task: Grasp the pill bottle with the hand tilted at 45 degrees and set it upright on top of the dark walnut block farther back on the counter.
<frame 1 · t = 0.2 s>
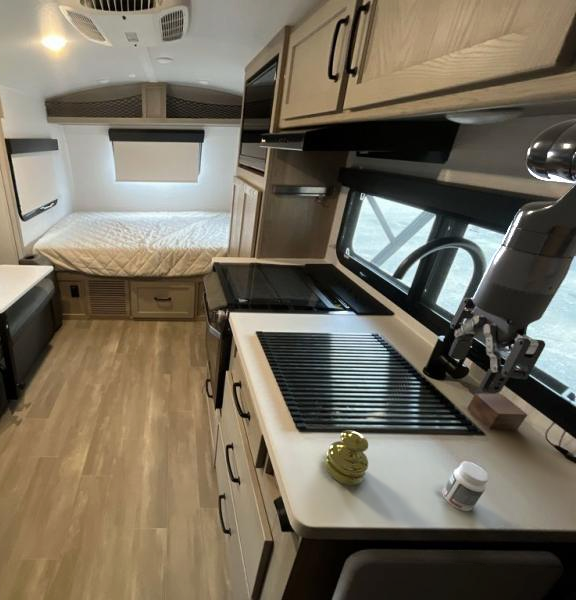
hand: (470, 373, 53), 29 cm above the worktop, tool pointing down, fingers open, 8 cm apart
pill bottle: (456, 500, 65), on the worktop
gold metal rounded figure: (342, 470, 70), on the worktop
walnut block: (491, 418, 85), on the worktop
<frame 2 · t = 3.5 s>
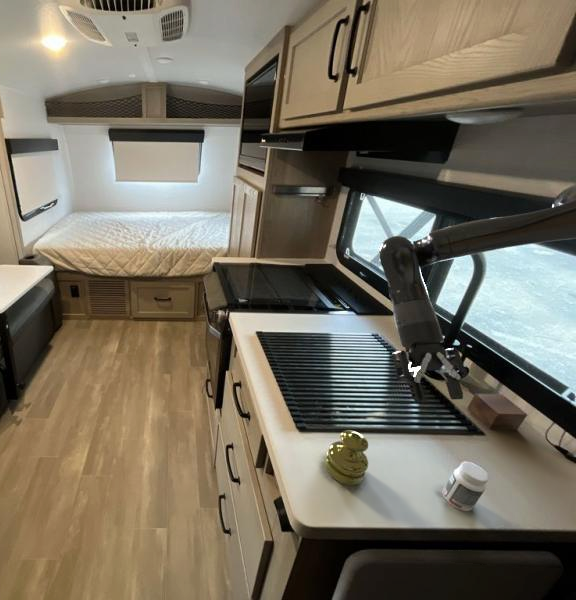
hand: (439, 400, 68), 15 cm above the worktop, tool tilted 45°, fingers open, 8 cm apart
nothing on the worktop moved.
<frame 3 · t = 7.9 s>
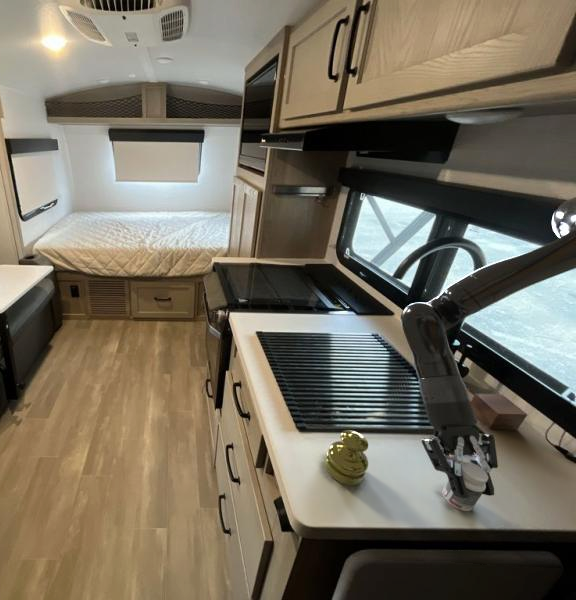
hand: (474, 495, 61), 4 cm above the worktop, tool tilted 45°, fingers closed on pill bottle, 4 cm apart
pill bottle: (456, 500, 65), on the worktop, touching gripper
everything else where it was.
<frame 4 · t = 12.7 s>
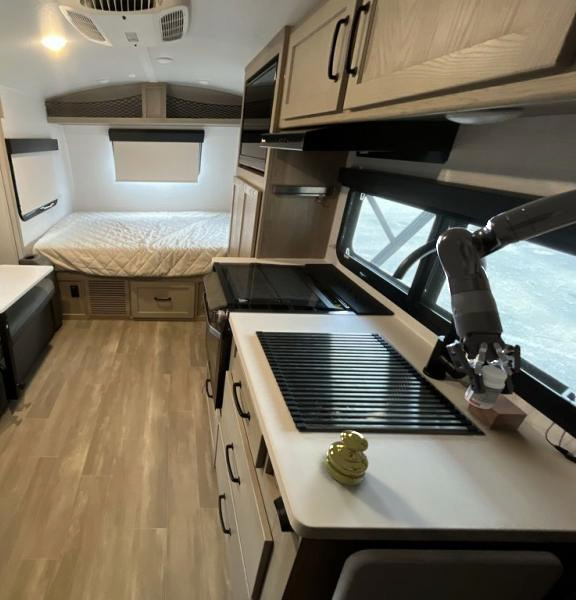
hand: (493, 393, 69), 16 cm above the worktop, tool tilted 45°, fingers closed on pill bottle, 4 cm apart
pill bottle: (477, 402, 72), point 12 cm above the worktop, touching gripper
everything else where it was.
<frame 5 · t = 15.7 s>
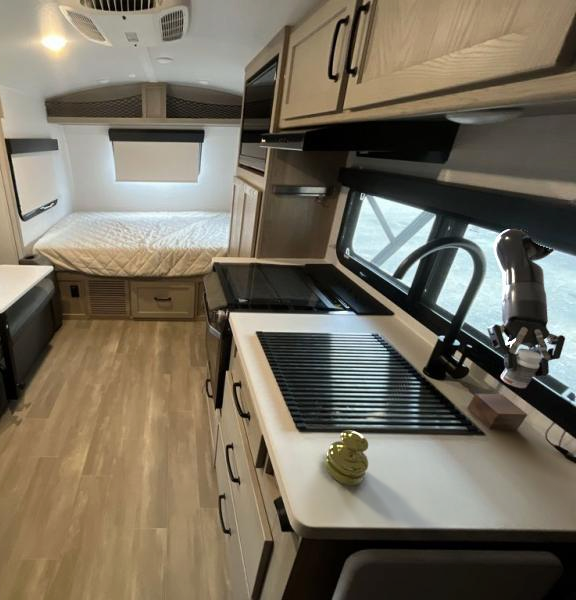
hand: (526, 373, 76), 16 cm above the worktop, tool tilted 45°, fingers closed on pill bottle, 4 cm apart
pill bottle: (512, 382, 80), point 11 cm above the worktop, touching gripper
everything else where it was.
when the fingers open (9 cm above the worktop, at t = 18.0 s): pill bottle stays where it is, resting on walnut block.
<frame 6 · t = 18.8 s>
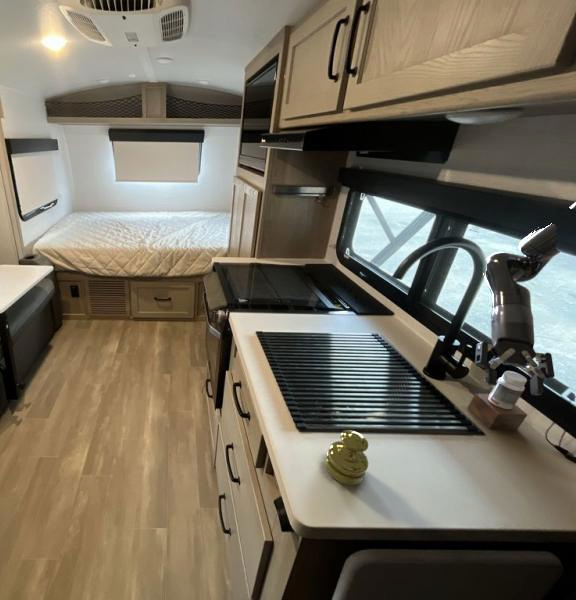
hand: (513, 390, 79), 10 cm above the worktop, tool tilted 45°, fingers open, 8 cm apart
pill bottle: (499, 403, 83), point 5 cm above the worktop, touching walnut block
everything else where it was.
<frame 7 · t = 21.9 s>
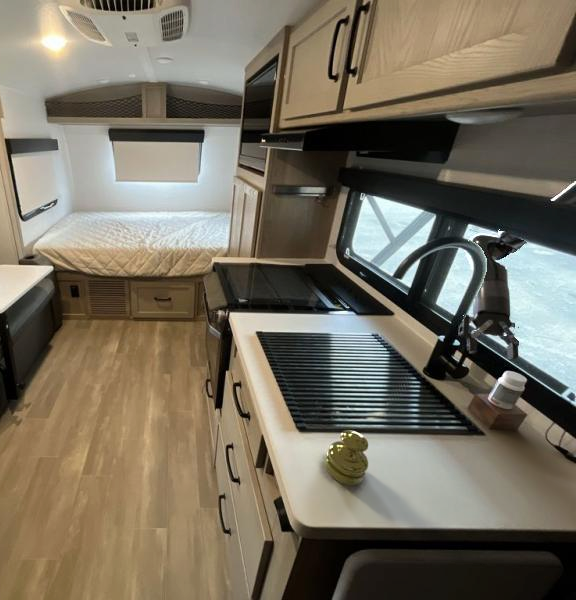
hand: (492, 356, 89), 12 cm above the worktop, tool tilted 45°, fingers open, 8 cm apart
nothing on the worktop moved.
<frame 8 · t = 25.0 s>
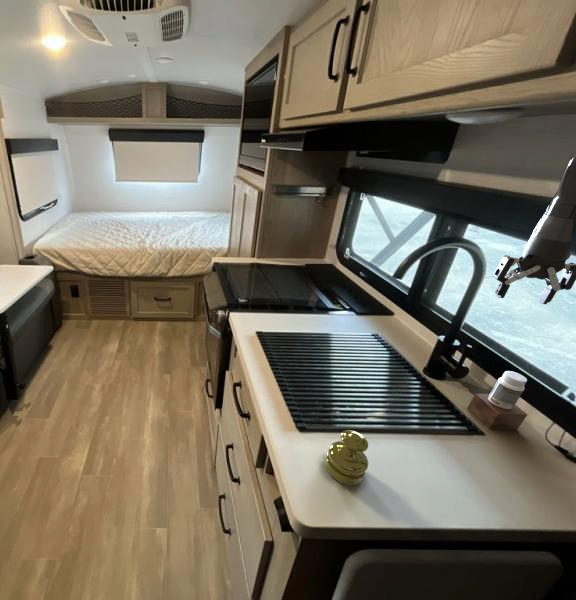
hand: (520, 299, 83), 28 cm above the worktop, tool pointing down, fingers open, 8 cm apart
nothing on the worktop moved.
at the end: pill bottle 0.2 cm off-centre on the walnut block, point 4.8 cm above the walnut block's base; pill bottle tilted 0°; the gripper is holding nothing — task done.
